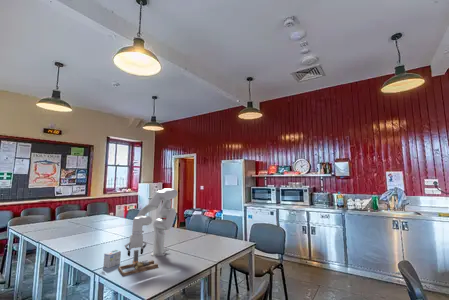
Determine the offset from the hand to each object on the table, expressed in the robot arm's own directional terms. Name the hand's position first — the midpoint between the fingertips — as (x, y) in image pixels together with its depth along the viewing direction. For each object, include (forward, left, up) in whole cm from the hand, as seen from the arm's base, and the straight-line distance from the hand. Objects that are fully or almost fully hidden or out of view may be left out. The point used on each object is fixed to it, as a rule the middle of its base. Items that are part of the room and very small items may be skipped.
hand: (135, 255), depth 181 cm
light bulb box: (+15, -7, -8) cm, 19 cm away
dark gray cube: (-5, +12, -7) cm, 14 cm away
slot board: (0, +12, -8) cm, 14 cm away
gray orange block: (-1, 0, -8) cm, 8 cm away
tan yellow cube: (0, +12, -7) cm, 14 cm away
